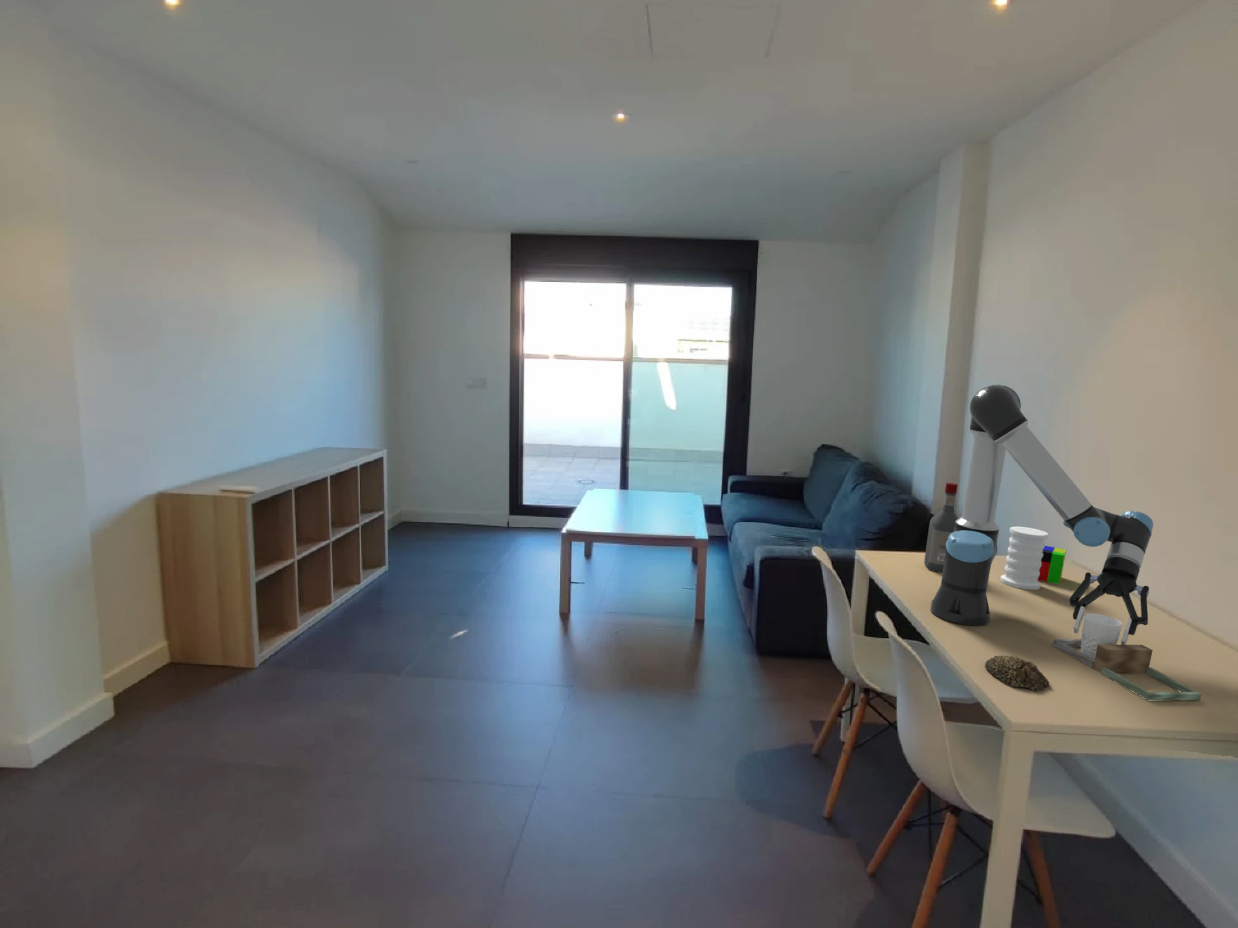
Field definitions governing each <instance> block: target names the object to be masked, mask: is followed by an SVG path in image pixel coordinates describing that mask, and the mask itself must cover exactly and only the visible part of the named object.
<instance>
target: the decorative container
mask: <svg viewBox="0 0 1238 928" xmlns="http://www.w3.org/2000/svg"><path fill="white" fill-rule="evenodd" d="M1009 533H1010V534H1011V535H1010V537H1009V538H1008V539H1009V541H1008V542H1009V546H1008V548H1007V556H1006V557H1005V560H1006V564H1005V566H1004V571H1005V572H1004V574H1002V575H1000V578H999V579H1000V582H1001V583H1003V584H1004V585H1006V586H1010V587H1012V586H1013V587H1012V588H1017V589H1020V588H1021V589H1022V590H1028V591H1031V590H1032V591H1033V590H1034V591H1037V590H1039V589H1040V588H1041V585H1042V584H1041V582H1040V581H1039V580H1038V577H1039V575H1040V572H1039V569H1040V567H1041V558H1042V557H1043V553H1042V552H1043V549H1044V547H1045V546H1046V545H1045V544H1046V543H1045V541H1046V539H1048V536H1049V533H1048V532H1046V531H1044V530H1042V529H1039V528H1038V529H1037V528H1033V527H1027V526H1026V527H1025V526H1011V527H1009Z"/></svg>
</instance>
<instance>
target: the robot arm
mask: <svg viewBox="0 0 1238 928" xmlns="http://www.w3.org/2000/svg"><path fill="white" fill-rule="evenodd" d="M1021 408H1022V404H1021V399H1020V397H1019V395H1018V393H1017V392H1016V391H1015V390H1014V389H1013V388H1011V387H1010V386H1007V385H1001V384H992V385H987V386H986V387H983V388H981V389H980V390H978V391H977V392H976V393H975V394H974V395H973V396H972V398H971V401H970V404H969V412H970V416H971V418H970V425H969V432H970V433H971V435H973V437H974V438H973V444H972V448H971V449H972V450H971V458H970V463H969V470H968V476H967V482H966V489H965V494H964V495H965V496H964V501H963V502H964V503H963V509H962V514H961V516H960V517H959V518H958V519H957V520H956V522H955V528H954V532H953V533H951V534H950V535H949V537H948V540H947V542H946V554H945V561H944V567H943V573H942V575H941V581H940V586H939V588H938V590H937V591H936V594H935V596H934V597H933V599H932V600H931V602H930V603H931V604H930V612H931V613H932V614H933V615H934V616H936V617H937V618H940V619H942V620H944V621H947V622H951V623H954V624H959V625H965V626H975V627H976V626H979V627H980V626H985V625H988V624H989V622H990V619H991V611H990V606H989V602H988V597H987V590H988V587H989V586H988V585H989V580H990V579H989V578H990V573H991V567H992V563H993V561H994V559H995V557H996V556H997V553H998V540H999V534H1000V533H999V532H1000V526H999V525H998V524H997V523H996V521H995V520H996V514H997V508H998V502H999V495H1000V491H1001V490H1000V489H1001V483H1002V478H1003V477H1002V476H1003V472H1004V471H1003V470H1004V465H1005V458H1006V453H1008V454H1009V455H1010V457H1011V458H1012V459H1013V460H1014V461H1015V462H1016V463H1017V465H1018V466H1019V467H1020V468H1021V469H1022V471H1023V472H1024V473H1025V474H1026V476H1027V477H1028V478H1029V480H1030V481H1031V482H1032V483H1033V484H1034V486H1035V487H1036V488H1037V489H1038V491H1039V492H1041V494H1042V495H1043V497H1044V498H1045V499H1046V500H1047V501H1048V502H1049V504H1050V506H1051V507H1052V508H1053V509H1054V510H1055V511H1056V512H1057V514H1058V515H1059V516H1060V517H1061V518H1062V520H1063V526H1064V527H1066V528H1068V529H1070V530H1071V531H1072V532H1073V536H1074V538H1075V539H1076V540H1077V541H1078V542H1079V544H1082V545H1083V546H1085V547H1089V548H1091V547H1093V548H1094V547H1099V546H1102V545H1103V544H1105V543H1106V542H1109V543H1111V544H1110V547H1109V548H1108V549H1109V550H1108V552H1107V555H1106V560H1105V561H1104V564H1103V568H1102V570H1101V572H1100V574H1098V575H1096V574H1095V575H1094V574H1092V573H1090V572H1089V571H1088V572H1085V574H1084V579H1083V580H1082V581H1081V583H1080V584H1079V585H1078V587H1077V588H1076V590H1074V592H1073V593H1072V594H1071V596H1070V597H1069V598H1068V601H1069V602H1068V603H1069V605H1070V606H1071V607H1074V610H1073V613H1072V619H1073V620H1075V622H1074V624H1073V628H1072V629H1073V633H1074V634H1078V633H1079V630H1080V627H1081V624H1082V621H1083V620H1084V615H1085V614H1086V611H1085V608H1086V607H1088V606H1089V605H1090V604H1092V603H1093V602H1094V601H1095V600H1097V599H1098V598H1100V597H1103V596H1104V595H1109V596H1115V597H1117V598H1121V599H1122V601H1123V603H1124V604H1125V607H1126V609H1127V613H1128V615H1129V617H1130V618H1127V621H1126V624H1125V628H1124V629H1123V630H1124V631H1123V634H1122V637H1121V641H1120V645H1127V641H1128V640H1129V636H1135V634H1136V631H1137V628H1138V626H1139V625H1143V626H1147V625H1148V624H1149V616H1148V615H1149V613H1148V596H1149V594H1150V587H1149V586H1148V585H1144V586H1142V585H1138V584H1137V581H1138V580H1137V579H1138V576H1139V574H1140V569H1141V567H1142V563H1143V561H1144V558H1145V554H1146V552H1147V549H1148V546H1149V543H1150V540H1151V537H1152V531H1153V528H1154V521H1153V519H1152V518H1151V517H1150V516H1149V515H1148V514H1146V513H1144V512H1141V511H1133V510H1128V511H1124V512H1123V513H1121V515H1120V514H1115V513H1112V512H1109V511H1107V510H1103V509H1100V508H1098V507H1094V505H1092V503H1091V502H1090V501H1089V499H1088V498H1087V497H1086V495H1084V494H1083V492H1082V491H1081V490H1080V488H1079V487H1078V486H1077V484H1075V483H1074V481H1073V480H1072V479H1071V477H1070V476H1069V475H1068V474H1067V473H1066V471H1064V469H1063V468H1062V467H1061V465H1060V464H1059V463H1058V462H1057V461H1056V460H1055V458H1054V457H1053V455H1051V453H1050V452H1049V450H1047V448H1045V446H1044V445H1043V444H1042V442H1041V441H1040V440H1039V439H1038V438H1037V436H1036V435H1035V434H1034V433H1033V431H1032V430H1031V429H1030V428H1029V426H1028V424H1029V420H1028V419H1027V417H1025V415H1024V414H1023V412H1022V410H1021ZM1095 582H1098V585H1097V586H1096V588H1094V589H1092V591H1090V592H1089V593H1087V594H1086V595H1085V593H1086V591H1087V590H1088V589H1089V588H1090V585H1092V584H1093V585H1094V583H1095ZM1135 591H1137V594H1138V596H1140V599H1139V601H1140V616H1139V615H1138V613H1137V610H1136V608H1135V605H1134V604H1133V601H1132V597H1131V595H1130V594H1131V593H1133V592H1135ZM1083 595H1085V596H1083Z"/></svg>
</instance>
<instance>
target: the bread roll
mask: <svg viewBox="0 0 1238 928" xmlns="http://www.w3.org/2000/svg"><path fill="white" fill-rule="evenodd" d="M984 663H985V664H984V668H985V669H986V671H987V672H988V673H989V674H990V675H991V676H992V677H993V678H995V679H997V680H999V681H1000V682H1002V683H1003V684H1004V685H1006V686H1010V687H1011V688H1026V689H1029V690H1031V691H1032V690H1034V691H1033V692H1038V691H1040V692H1042V690H1043V691H1045V690H1044V689H1045V688H1049V686H1050V681H1049V680H1048V678H1047V677H1046V676H1045V675H1044V674H1043V672H1041V671H1040V669H1038V667H1037V665H1036V664H1035V663H1033V662H1032V661H1030V660H1025V659H1023V658H1019V657H1018V656H1012V655H994V656H993V657H991V658H989V659H987V660H986V661H985V662H984Z"/></svg>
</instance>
